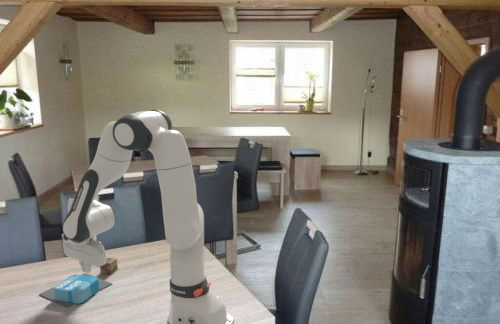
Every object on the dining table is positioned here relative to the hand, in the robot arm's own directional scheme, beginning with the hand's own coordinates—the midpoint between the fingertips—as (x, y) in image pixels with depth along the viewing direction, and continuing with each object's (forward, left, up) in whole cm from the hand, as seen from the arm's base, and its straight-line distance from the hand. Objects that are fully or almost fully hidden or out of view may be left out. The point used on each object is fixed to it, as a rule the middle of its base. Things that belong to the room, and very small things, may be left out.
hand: (86, 271), depth 155 cm
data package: (-3, 0, -7) cm, 7 cm away
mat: (+7, 0, -9) cm, 12 cm away
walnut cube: (+9, -17, -9) cm, 22 cm away
